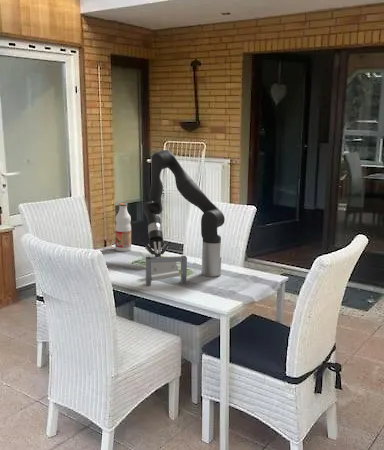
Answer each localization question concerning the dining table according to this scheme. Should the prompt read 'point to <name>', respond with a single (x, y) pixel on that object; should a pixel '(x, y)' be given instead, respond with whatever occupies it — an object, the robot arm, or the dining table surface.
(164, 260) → the bar
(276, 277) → the dining table surface
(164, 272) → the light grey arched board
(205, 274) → the robot arm
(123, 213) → the fruit juice
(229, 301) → the dining table surface
